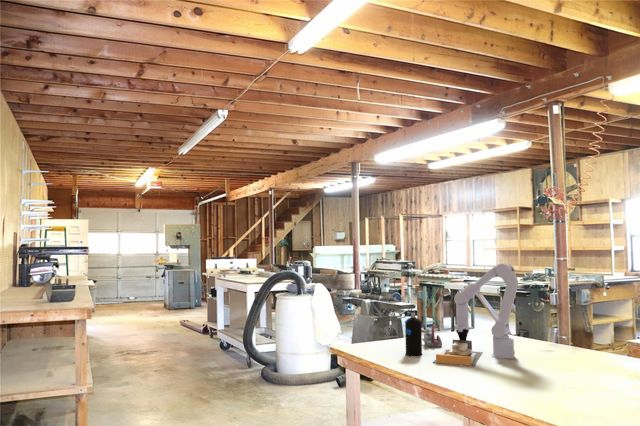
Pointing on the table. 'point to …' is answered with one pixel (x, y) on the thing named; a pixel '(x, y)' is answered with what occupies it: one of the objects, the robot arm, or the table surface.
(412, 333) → the aerosol can
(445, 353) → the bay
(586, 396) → the table surface
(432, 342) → the brake caliper
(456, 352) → the grey beige angular piece
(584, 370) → the table surface
